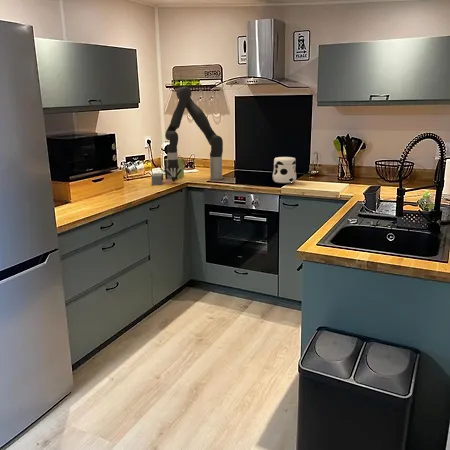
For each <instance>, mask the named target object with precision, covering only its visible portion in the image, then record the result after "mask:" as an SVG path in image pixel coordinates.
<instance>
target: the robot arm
mask: <svg viewBox="0 0 450 450" xmlns="http://www.w3.org/2000/svg"><path fill="white" fill-rule="evenodd" d="M175 92H176V93H175V94H176V97H177V99H178V102H177V105H176V108H175V110H174V111H173V114H172V116H171V120H170V124H169V125H168V127H167V129H166V131H165V135H164V136H165V139H166V140H167V141H169V143H168V144H167V149H166V150H167V158H168V167H167V169H165V168H164V172H165V171H166V173H167V174H168V175H169V176H171V177H172V181H173V183H175V182H176V181H177V180H176V176H178V175H179V173H180V172H181V171H182V169H180V168H179V166H178V157H179V155H178V144H179V134H178V132H177V130H178V129H179V128H180V126H181V123H182V119H183V115H184V114H185V110H187V112H188V113H189V115H190V117H191V118H192V120H193V121H194V123H195V124H196V126H197V127H198V128H199V130H200V131H201V132H202V133H203V135H204V136H205V138H206V140H207V142H208V144H209V146H210V152H209V162H210V163H209V168H210V169H209V171H210V173H209V174H210V176H209V177H210V180H213V181H214V180H217V181H218V180H223V153H224V152H223V151H224V142H223V138H222V137H221V136H220V135H218V134H217V133H216V132H215V131H214V129H213V128H212V127H211V124H210V122H209V118H208V117H207V115H206V114H205V112H204V111H203V110H202V109H201V108H200V107H199V106H198V105H197V104H196V103H195V102H194V100H193V99H192V98H191V97H192V90H191V89H190V88H189V87H188V86H180V87H178V89H176V91H175ZM167 158H166V159H167ZM168 169H169V171H170V172H171V174H170V173H169V171H168ZM178 169H179V170H178ZM177 170H178V171H179V172H178V173H177V174H176V172H177ZM173 172H174V175H173Z"/></svg>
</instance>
